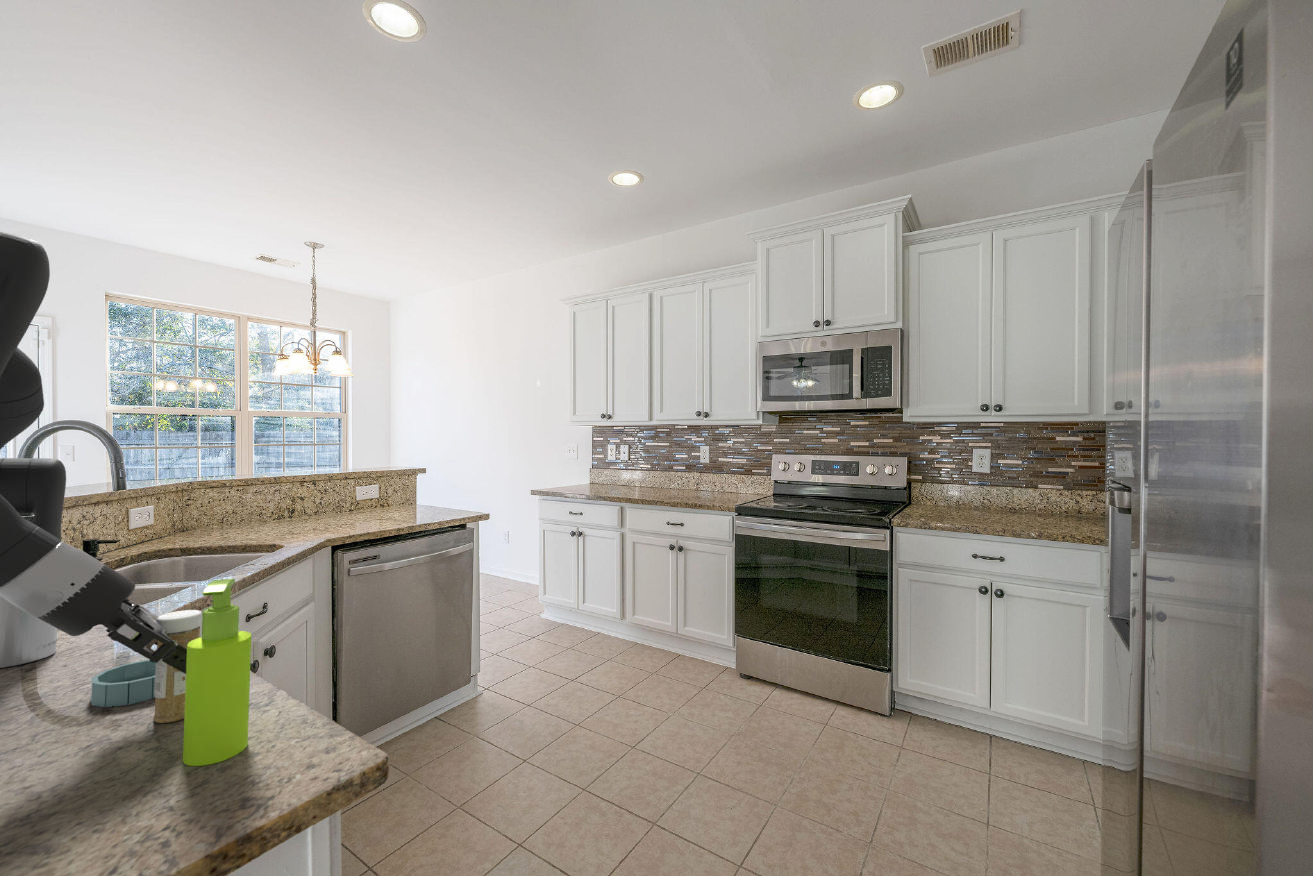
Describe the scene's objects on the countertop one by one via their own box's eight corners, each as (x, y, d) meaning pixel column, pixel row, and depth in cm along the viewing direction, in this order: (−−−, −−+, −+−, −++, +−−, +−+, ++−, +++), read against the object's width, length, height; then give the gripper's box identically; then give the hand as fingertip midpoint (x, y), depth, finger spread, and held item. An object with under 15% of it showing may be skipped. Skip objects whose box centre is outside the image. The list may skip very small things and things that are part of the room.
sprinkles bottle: (195, 718, 70) (199, 615, 71) (148, 728, 68) (152, 621, 68) (201, 704, 74) (204, 606, 74) (156, 713, 72) (160, 611, 72)
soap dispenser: (171, 776, 58) (179, 590, 58) (191, 745, 64) (197, 577, 65) (239, 763, 61) (245, 585, 61) (252, 734, 67) (257, 572, 67)
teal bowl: (73, 710, 72) (74, 688, 72) (117, 682, 81) (118, 662, 81) (158, 701, 75) (159, 680, 75) (192, 675, 83) (192, 655, 83)
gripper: (104, 571, 61) (228, 646, 69) (98, 554, 71) (207, 622, 79) (31, 629, 57) (171, 702, 65) (35, 603, 67) (157, 669, 75)
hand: (191, 658), depth 72 cm, fingers open, 8 cm apart
